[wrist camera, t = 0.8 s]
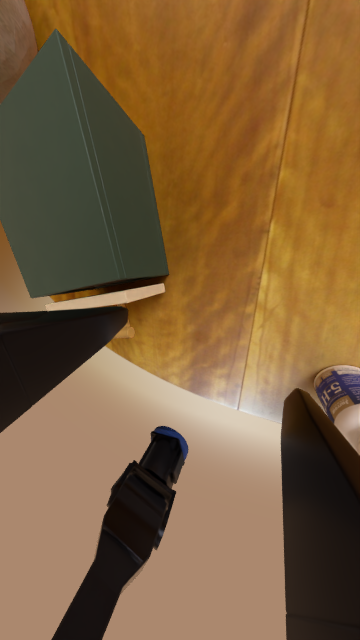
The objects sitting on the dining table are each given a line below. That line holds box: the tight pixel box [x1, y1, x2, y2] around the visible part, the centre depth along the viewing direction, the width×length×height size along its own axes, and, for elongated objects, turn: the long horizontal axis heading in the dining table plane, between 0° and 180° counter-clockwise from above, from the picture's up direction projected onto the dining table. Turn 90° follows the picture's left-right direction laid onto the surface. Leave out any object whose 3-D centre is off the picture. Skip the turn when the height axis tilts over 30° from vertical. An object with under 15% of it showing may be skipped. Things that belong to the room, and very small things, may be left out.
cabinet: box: [0, 29, 169, 298], centre depth 19 cm, size 16×15×10 cm
